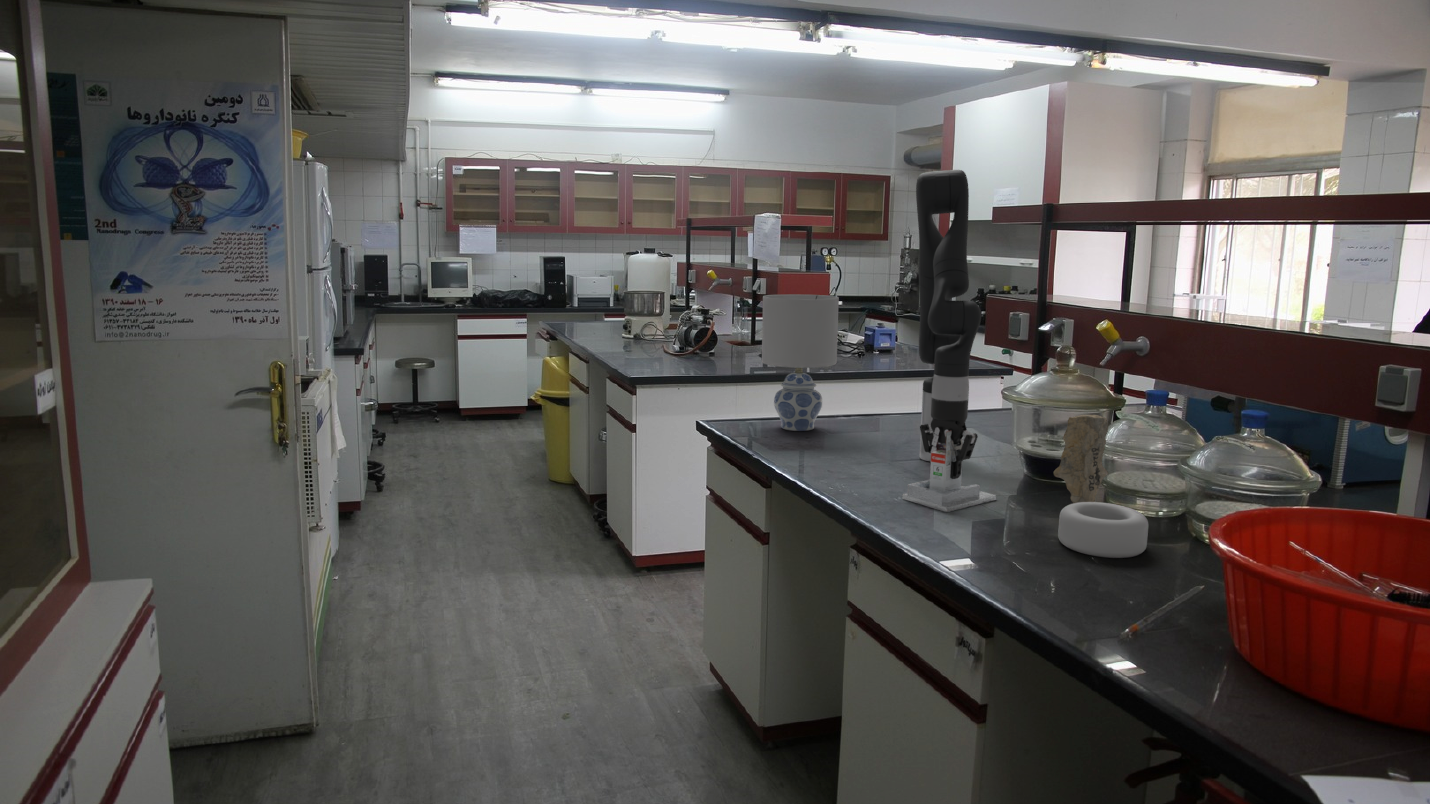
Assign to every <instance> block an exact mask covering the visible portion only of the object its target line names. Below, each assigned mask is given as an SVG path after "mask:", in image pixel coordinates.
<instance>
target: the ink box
mask: <svg viewBox="0 0 1430 804" xmlns="http://www.w3.org/2000/svg"><path fill="white" fill-rule="evenodd" d="M951 434H952V432H951V430H950V431H947V432H946V448H943V449H940V450H937V451H934V452H931V461H930V469H929V470H930V472H929V473H930V474H929V480H930V488H929V489H932V490H935V491H939V492H944V491H948V490H953V489H957V488H961V486H962V476H963V475H962V473H963V471H962V470H963V466H962V467H961V475H960V476H959V478H956V479H952V478H950V473H951V461H952V459H951V451H950V441H951V438H950V436H951ZM963 438H964V437H962V442H964V441H963ZM956 445H957V444H954V446H956ZM956 453H957V451H956Z"/></svg>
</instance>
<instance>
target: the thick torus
mask: <svg viewBox="0 0 1430 804" xmlns="http://www.w3.org/2000/svg"><path fill="white" fill-rule="evenodd" d="M1058 519H1059V520H1058V532H1057V537H1058V539H1059V542H1060V544H1062V545H1064V547H1066V548H1068V549H1070V550H1072V551H1074V552H1078V553H1081V554H1085V555H1089V556H1093V557H1099V558H1110V559H1123V558H1124V559H1125V558H1132V557H1136V556H1139V555H1141V554H1142V553H1143V552H1145V550H1146V549H1147V547H1148V546H1147V545H1148V533H1149V520H1148V519H1147V517H1146V516H1145V515H1143V513H1141V512H1139V511H1137V510H1136V509H1134V508H1131V507H1128V506H1123V505H1119V504H1115V503H1108V502H1097V501H1095V502H1079V503H1073V502H1072V503H1070V504H1068V505H1066V506H1064V507H1063V508H1062V509H1061V510H1060V513H1059V517H1058Z"/></svg>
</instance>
